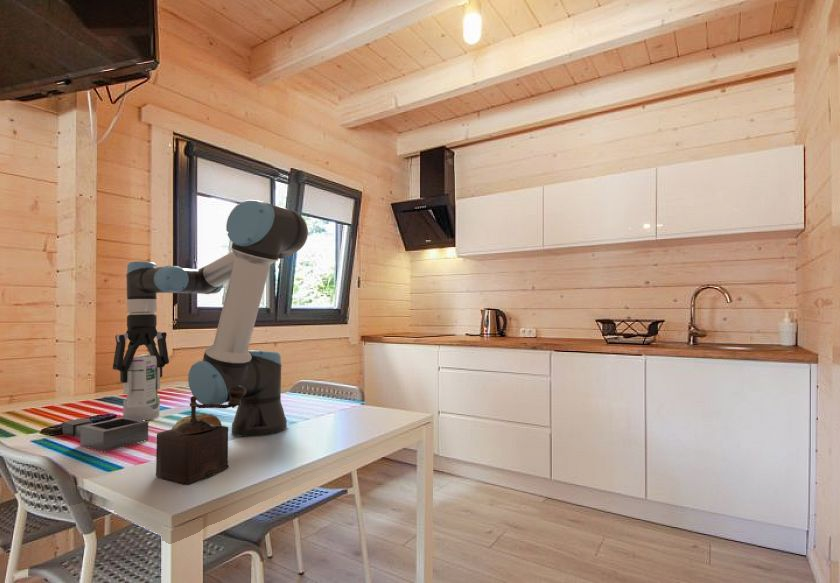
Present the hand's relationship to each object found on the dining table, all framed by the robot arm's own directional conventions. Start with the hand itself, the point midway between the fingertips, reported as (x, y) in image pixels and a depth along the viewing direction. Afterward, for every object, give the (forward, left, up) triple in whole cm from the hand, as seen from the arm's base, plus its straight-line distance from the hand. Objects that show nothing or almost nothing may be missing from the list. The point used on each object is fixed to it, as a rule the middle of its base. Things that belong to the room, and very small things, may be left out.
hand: (142, 391), depth 132 cm
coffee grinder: (-45, +12, -11) cm, 48 cm away
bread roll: (-28, +2, -11) cm, 30 cm away
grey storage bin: (+1, +11, -11) cm, 16 cm away
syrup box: (0, 0, -4) cm, 4 cm away
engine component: (+14, -8, -11) cm, 19 cm away
